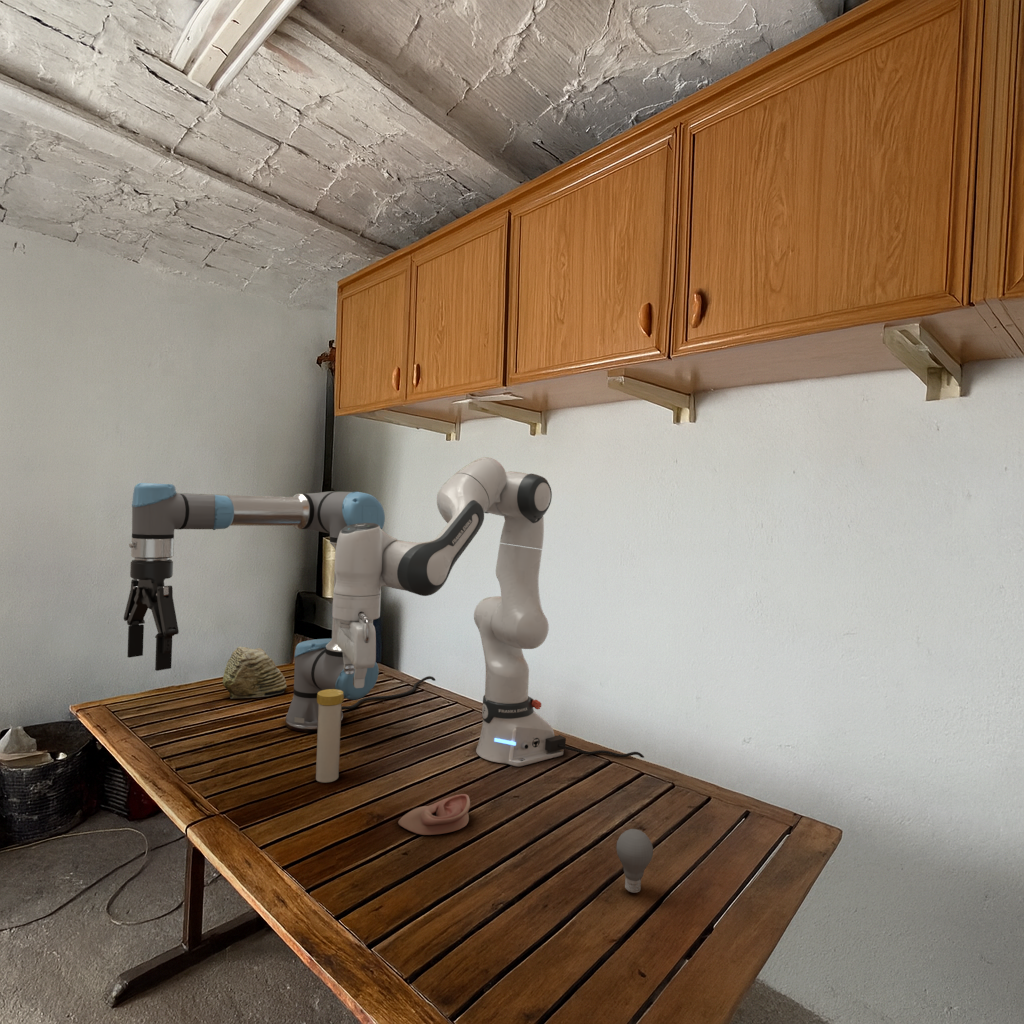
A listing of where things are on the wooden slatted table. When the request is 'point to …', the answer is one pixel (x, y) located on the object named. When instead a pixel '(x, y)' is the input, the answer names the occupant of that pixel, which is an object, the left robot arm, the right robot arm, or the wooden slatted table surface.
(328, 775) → the beige cylinder
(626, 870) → the light bulb
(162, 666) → the left robot arm
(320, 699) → the lid
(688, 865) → the wooden slatted table surface
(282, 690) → the fossil
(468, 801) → the anatomical model
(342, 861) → the wooden slatted table surface
